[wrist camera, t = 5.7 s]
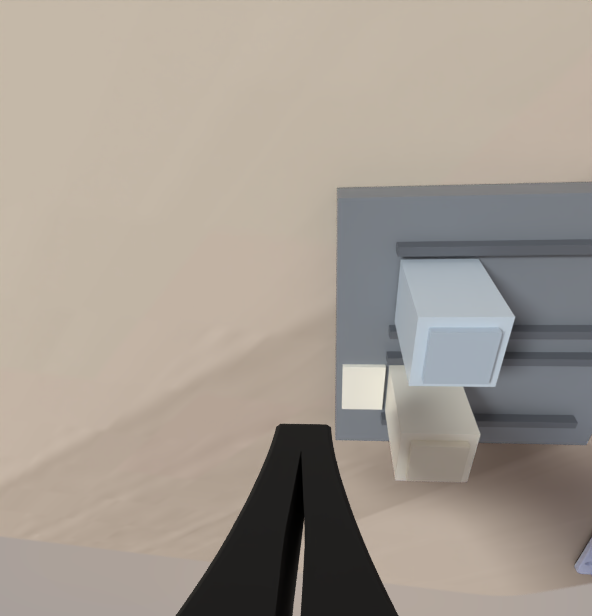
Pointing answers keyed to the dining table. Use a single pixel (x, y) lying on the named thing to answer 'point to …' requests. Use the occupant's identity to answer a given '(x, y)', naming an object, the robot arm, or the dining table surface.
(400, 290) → the grey switch
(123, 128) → the dining table surface
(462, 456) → the cream switch
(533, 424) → the switch panel
